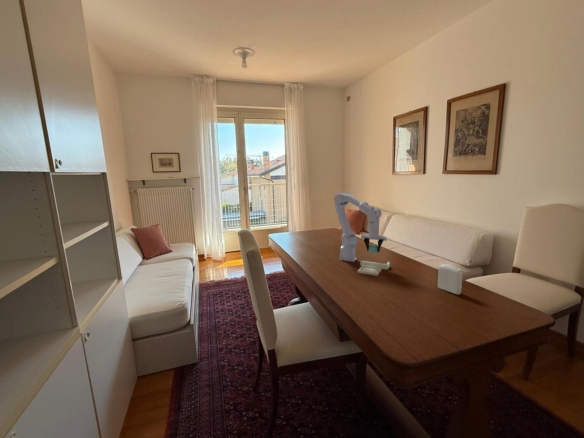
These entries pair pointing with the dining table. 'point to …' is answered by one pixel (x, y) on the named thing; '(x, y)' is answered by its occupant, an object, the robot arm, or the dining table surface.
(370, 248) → the ball
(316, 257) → the dining table surface
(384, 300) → the dining table surface
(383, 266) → the wall
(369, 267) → the white tray
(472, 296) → the dining table surface
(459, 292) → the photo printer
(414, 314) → the dining table surface
